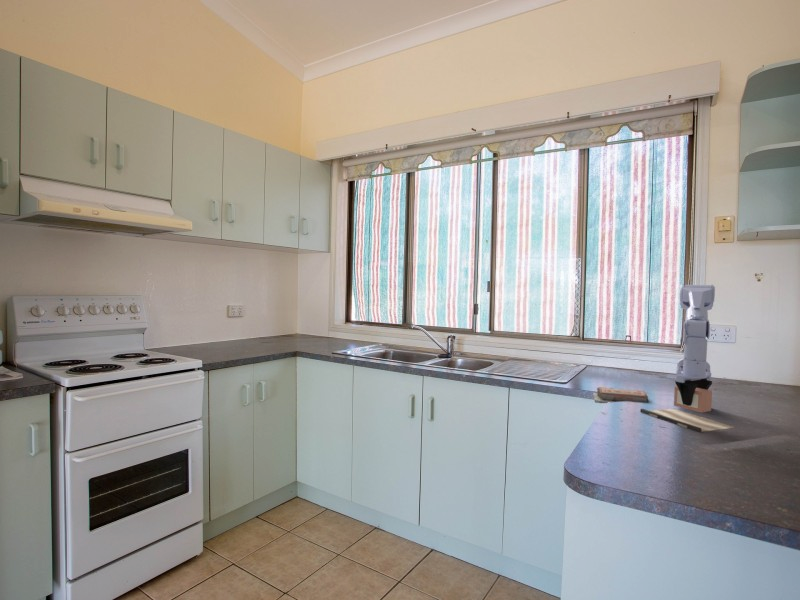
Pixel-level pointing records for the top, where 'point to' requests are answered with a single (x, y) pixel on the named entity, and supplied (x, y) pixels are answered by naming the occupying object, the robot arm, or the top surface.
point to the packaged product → (618, 395)
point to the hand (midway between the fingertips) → (692, 403)
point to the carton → (695, 400)
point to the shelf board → (686, 420)
